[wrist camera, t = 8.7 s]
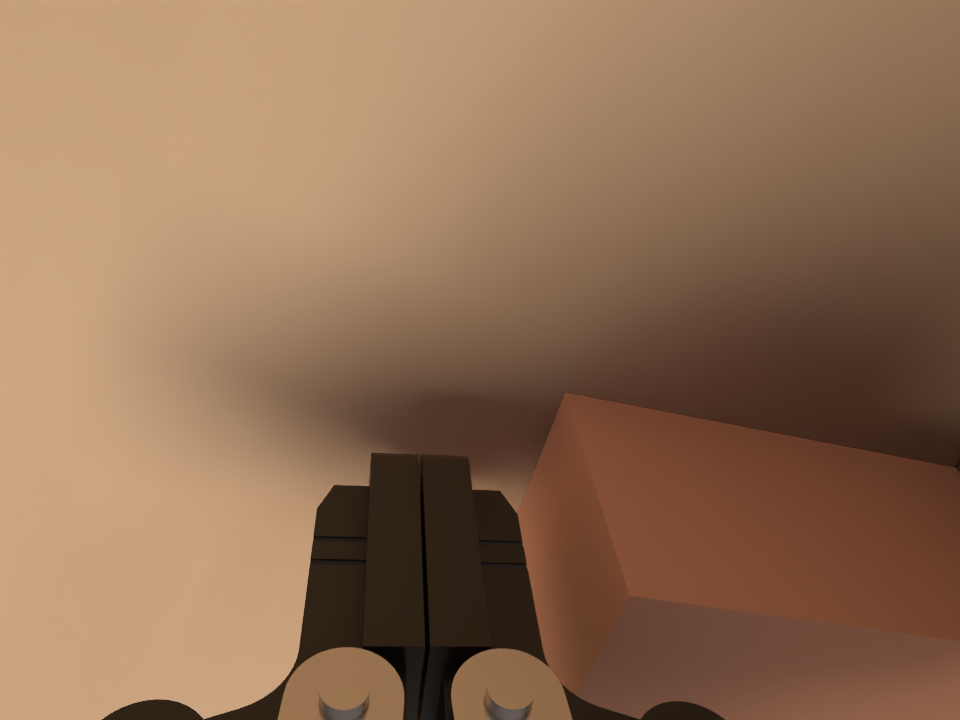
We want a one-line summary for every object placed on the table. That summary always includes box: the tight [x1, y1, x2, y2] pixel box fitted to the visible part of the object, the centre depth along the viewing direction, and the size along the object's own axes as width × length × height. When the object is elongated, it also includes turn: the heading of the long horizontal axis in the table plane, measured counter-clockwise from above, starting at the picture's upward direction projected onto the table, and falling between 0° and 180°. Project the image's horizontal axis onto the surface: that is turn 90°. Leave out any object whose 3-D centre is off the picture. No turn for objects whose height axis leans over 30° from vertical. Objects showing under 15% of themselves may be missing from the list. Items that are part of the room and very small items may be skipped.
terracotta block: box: [517, 392, 960, 720], centre depth 14 cm, size 8×8×4 cm
